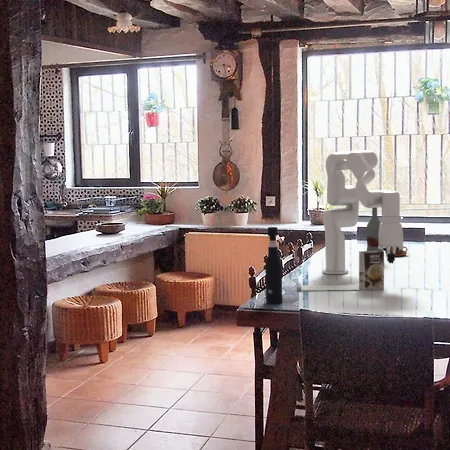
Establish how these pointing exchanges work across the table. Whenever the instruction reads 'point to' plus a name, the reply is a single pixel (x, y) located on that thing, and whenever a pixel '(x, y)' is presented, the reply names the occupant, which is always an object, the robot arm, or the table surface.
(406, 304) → the table surface
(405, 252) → the cup and saucer
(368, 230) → the vodka
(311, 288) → the pale green rectangular board
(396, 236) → the robot arm
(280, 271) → the wine bottle
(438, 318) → the table surface
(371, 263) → the coffee box
